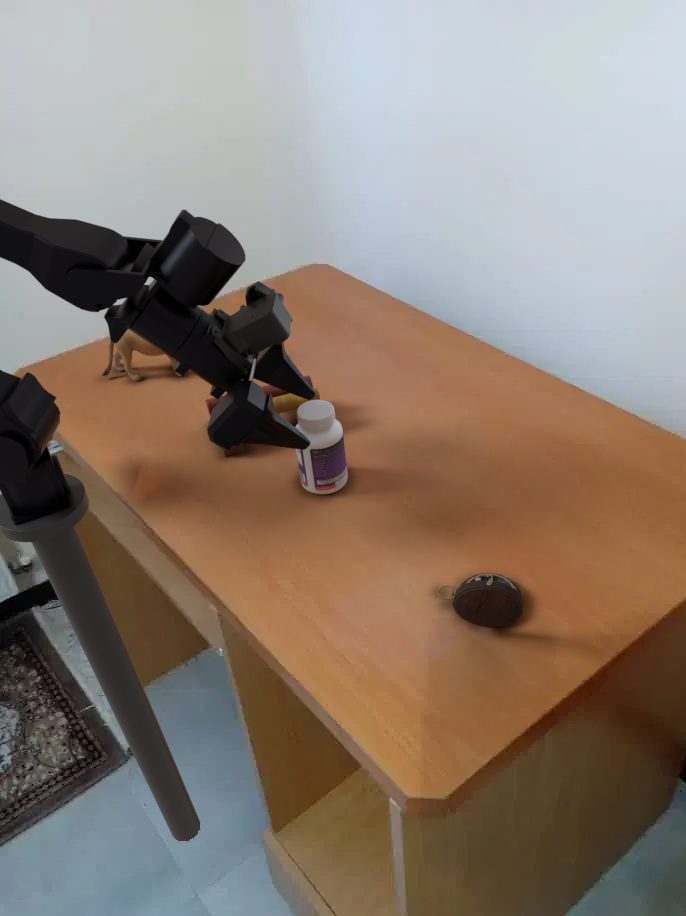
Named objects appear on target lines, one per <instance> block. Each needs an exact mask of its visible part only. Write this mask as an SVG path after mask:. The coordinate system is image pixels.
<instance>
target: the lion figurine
mask: <svg viewBox="0 0 686 916" xmlns="http://www.w3.org/2000/svg"><path fill="white" fill-rule="evenodd" d="M114 347H115V348H116V352H115V353H114ZM133 352H137V353H139V354H142V355H143V356H148V357H159V356H164V355H165V354H164V353H163V352H161V351H160V350H158V349H157V348H155V347H154V346H153V345H151V344H150V343H148V342H147V341H145V340H144V339H142V338H141V337H139V336H138V335H136V334H135V333H133V332H132V331H130V330H129V329H128V330H127V331H126V332H125V334H124V335H123V336H122V337H121V339H120V340H119V341H118V342H117V343H113V342H112V341H111V340H110V339H109V340H108V364H107V367H106V368H105V369H104V371H103V372H102V373H101V376H102V377H106V376H109V374H110V373H111V370H112V367H113V362H114V368H115V369H116V370H117V371H125V372H126V373H127V374H128V375H129V377H130V379H131V380H133V381H135V382H138V381H140V380H141V379H142V374H140V373H136V372H135V371H134V370H133V368H132V362H133ZM167 358H168V359H169V361H170V363H171V366H172V368H173V371H174V373H175V374H176V375H177V376H178V377H185V376H186V375H187V373H186V374H185V375H184V376H182V375H180V374H179V373H177V372H176V371H175V368H176V365H177V362H176V361H175V360H173V359H172V358H170V357H169V356H167ZM121 361H123V363H121Z"/></svg>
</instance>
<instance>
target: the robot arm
mask: <svg viewBox="0 0 686 916" xmlns="http://www.w3.org/2000/svg"><path fill="white" fill-rule="evenodd" d="M0 259H3V260H5V261H8V262H10V263H12V264H15V265H16V266H18V267H20V268H22V269H24V270H25V271H27V272H29V273H30V274H31V276H32V277H33V278H34V279H35V280H36V281H37V282H38V283H39V284H40V285H41V286H42V287H43V289H45V290H46V291H48V292H50V293H51V294H53V295H54V296H56V297H57V298H60V299H61V300H63V301H65V302H67V303H69V304H71V306H74V307H75V308H78V309H80V310H82V311H85V312H90V313H100V311H104V310H106V312H105V313H104V316H103V318H104V320H105V323H106V324H107V327H108V334H109V340H111V341H112V342H113V343H117V342H118V341H119V340H120V339H121V337H122V336H123V335H124V334H125V332H126V331H127V330H128V329H129V330H130V331H132V332H133V333H135V334H136V335H138V336H139V337H141V338H142V339H144V340H145V341H147V342H148V343H150V344H151V345H153V346H154V347H155V348H157V349H158V350H160V351H161V352H163V353H164V355H166V356H167V357H168V356H169V357H170V358H172V359H173V360H175V361H176V362H177V365H176V368H175V371H176V372H177V373H179V374H180V375H182V377H185V376H186V375H187V373H188V372H189V371H190V372H191V373H192V374H194V375H195V376H197V377H198V378H200V379H201V380H203V381H204V382H206V383H207V384H209V385H210V386H211V388H210V390H209V391H210V392H209V395H210V396H211V397H213V398H216V399H219V398H220V397H221V396H224V395H225V396H224V397H223V398H222V399H221V400H220V402H219V403H218V404H217V405H216V406H215V407H214V408H213V409H212V413H211V416H210V415H209V420H208V424H207V428H206V433H207V436H208V440H209V442H211V443H213V444H215V445H216V446H217V447H219V448H221V449H224V450H225V451H228V450H229V449H230V448H231V447H232V446H234V447H238V446H239V445H240V444H243V445H257V446H258V445H261V446H271V447H272V446H273V447H278V448H286V449H292V450H293V449H294V450H296V449H301V450H305V449H306V448H307V447H309V446H310V441H309V440H308V439H307V438H306V437H305V436H304V435H303V434H302V433H301V432H300V431H299V430H298V429H296V428H295V427H296V426H294V425H293V424H292V423H291V422H289V421H288V420H287V419H286V418H284V417H283V416H282V415H281V413H279V414H278V413H277V412H276V411H275V409H274V404H273V399H272V394H271V393H269V394H268V395H267V396H266V395H265V393H264V391H263V390H262V388H261V387H262V386H260V385H259V384H258V383H256V382H255V381H254V379H255V380H257V381H259V382H261V383H264V384H266V385H271V386H274V387H276V388H279V389H281V390H284V391H286V392H289V393H291V394H293V395H296V396H299V397H302V398H305V399H308V400H311V399H312V398H313V397H314V396H315V394H316V392H315V391H314V389H313V388H314V387H313V388H312V387H311V385H310V384H309V383H308V382H307V380H306V379H305V378H304V376H305V375H303V373H302V372H301V370H299V368H298V367H297V366H296V365H295V363H294V361H293V360H292V359H291V357H290V356H289V355H288V353H287V351H286V348H285V347H286V346H285V342H286V341H287V340H288V339H289V338H290V336H291V333H292V331H291V324H292V323H293V321H294V319H293V317H292V315H291V313H290V312H289V311H288V309H287V308H286V306H285V305H284V299H285V296H284V294H282V293H280V292H277V291H276V289H275V288H271V287H269V286H267V285H266V284H264V283H263V282H261V281H256V282H254V283H252V284H250V285H249V286H247V287H246V290H245V295H244V296H245V297H244V298H245V304H246V305H245V304H241V305H240V307H239V310H238V311H236V312H235V313H232V314H228V313H227V312H225V311H224V310H222V309H221V308H218V309H217V308H216V307H214V308H213V309H212V310H211V311H210V313H209V312H207V311H206V310H204V308H201V307H205V306H208V305H210V304H211V303H212V302H213V301H214V300H215V298H216V297H217V296H218V295H219V293H220V292H222V291H223V289H224V287H225V286H226V285H227V284H228V283H229V282H230V280H231V279H232V278H233V277H234V275H235V274H236V273H237V272H238V270H239V269H240V268H241V267H242V266H243V264H245V262H246V251H245V250H244V247H243V246H242V244H241V243H240V241H239V240H238V238H237V237H236V236H235V235H234V234H233V232H231V231H230V230H229V229H228V228H227V227H225V226H224V225H223V224H222V223H220V222H218V223H217V222H215V221H213V220H211V219H209V218H206V217H203V216H195V215H193V214H191V213H190V212H189V211H188V210H187V209H181V210H180V212H179V214H178V215H177V216H176V218H175V219H174V220H173V222H172V224H171V226H170V228H169V230H168V232H167V234H166V235H165V237H164V238H163V239H155V238H143V237H134V236H125V235H122V234H121V233H119V232H117V231H116V230H114V229H112V228H109V227H105V226H102V225H98V224H95V223H91V222H87V221H83V220H80V219H75V218H57V217H55V218H54V217H46V216H43V215H40V214H36V213H33V212H31V211H29V210H26V209H24V208H22V207H19V206H17V205H15V204H12V203H10V202H9V201H6V200H4V199H1V198H0ZM149 278H152V279H153V280H152V281H151V282H150V283H149V284H146V283H147V281H148V279H149ZM123 299H124V300H123ZM118 300H123V302H122V303H119V304H116V303H117V302H118ZM169 357H168V358H169ZM175 371H174V372H175ZM185 374H186V375H185ZM184 375H185V376H184ZM56 400H57V397H56V396H55V395H53V394H52V393H51V392H49V391H48V390H47V389H46V388H44V386H43V385H42V384H41V382H40V381H39V380H38V378H37V376H35V375H34V374H32V373H31V372H29V371H27V372H25V374H23V375H22V376H21V377H20V376H18V375H15V374H12V373H9V372H7V371H4V370H2V369H0V494H2V495H3V497H4V499H5V501H6V504H7V506H8V508H9V511H10V515H11V519H12V522H13V524H14V525H19V524H22V523H25V522H28V521H31V520H34V519H37V518H40V517H43V516H47V515H50V514H53V513H56V512H59V511H62V510H65V509H68V508H70V507H71V503H70V500H69V497H68V494H70V493H71V491H70V488H69V485H68V482H67V479H66V477H65V474H66V473H65V472H64V470H63V467H62V465H61V462H60V459H59V457H58V455H56V454H53V455H52V454H51V452H50V449H49V446H48V444H49V443H50V442H51V441H52V440H53V438H54V434H55V433H56V430H58V427H59V426H60V423H61V414H62V413H61V411H60V408H59V406H58V405H57V404H56V402H55V401H56Z"/></svg>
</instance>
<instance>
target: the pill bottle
mask: <svg viewBox="0 0 686 916" xmlns="http://www.w3.org/2000/svg"><path fill="white" fill-rule="evenodd" d="M297 417H298V421H297V424H296V425H295V426H294V427H295V428H296V429H298V430H299V431H300V432H301V433H302V434H303V435H304V436H305V437H306V438H307V439H308V440H309V441H310V446H309V447H307V448H306V449H305V450H301V449H295V453H296V454H295V455H296V460H297V465H298V471H299V472H298V473H299V478H300V483H301V485H302V487H303V489H305V490H306V491H308V492H309V493H312V494H315V495H329V494H333V493H336V492H338V491H340V490H341V489H343V487H344V486H345V485H346V483H348V482H347V481H348V478H349V475H348V465H347V456H346V447H345V438H344V430H343V426H342V424H341V422H340V421H339V420H338V419H336V412H335V407H334V405H333V404H332V403H331V401H328V400H324V399H320V400H311V401H307V402H305V403H303V404H302V405H300V406H299V408H298V409H297Z"/></svg>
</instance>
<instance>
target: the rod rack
mask: <svg viewBox="0 0 686 916" xmlns="http://www.w3.org/2000/svg"><path fill="white" fill-rule="evenodd" d="M303 376H304V378H305V379H306V380H307V382H308V383H309V384H310V385H311V387H312V388H313V389H314V391H315V392H316V394H315V396H314V397H313V398H312V399H311V400H321V396H320V392H319V390H318V387H315V386H314V385H313V380H312V378H311V376H310V374H308V375H303ZM313 386H314V387H313ZM260 387H261V388H262V390H263V391H264V393H265V395H266V396H267V395H268V394H269V393H271V394H272V399H273V404H274V409H275V411H276V412H277V413H278V414H283V413H286V412H290V411H291V412H292V414H293V416H294V418H295V420H296V422H298V417H297V409H298V408H299V406H300V405H302V404H303V403H305V402H307V401H311V400H308V399H305V398H302V397H299V396H296V395H293V394H291V393H289V392H286V391H284V390H281V389H279V388H276V387H274V386H271V385H269V384H266V385H261V386H260ZM225 395H226V394H223V395H222V396H221V397H220V398H219V399H216V398H215V397H213V398H207V399H205V405H206V409H207V412H208V415H209V417H210V416H211V413H212V409H213V408H214V407H215V406H216V405H217V404H218V403H219V402H220V400H221V399H222V398H223V397H224V396H225ZM221 449H222V448H221ZM244 452H245V447H244V444H240V445H239V446H238V447H234V446H232V447H231V448H230V449H229V450H228V451H225V450H224V449H222V453H223V455H224V457H225V458H226V457H229V456H233V455H238V454H241V453H244Z"/></svg>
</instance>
